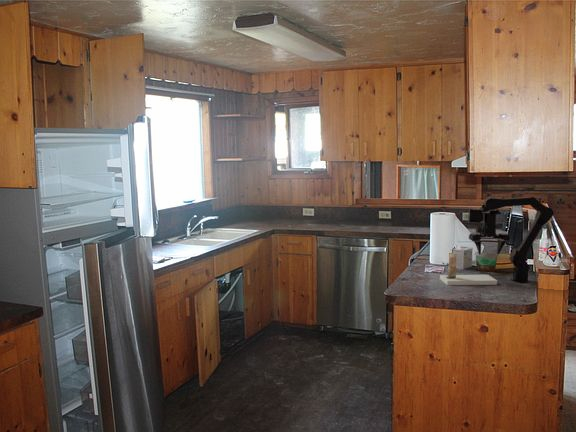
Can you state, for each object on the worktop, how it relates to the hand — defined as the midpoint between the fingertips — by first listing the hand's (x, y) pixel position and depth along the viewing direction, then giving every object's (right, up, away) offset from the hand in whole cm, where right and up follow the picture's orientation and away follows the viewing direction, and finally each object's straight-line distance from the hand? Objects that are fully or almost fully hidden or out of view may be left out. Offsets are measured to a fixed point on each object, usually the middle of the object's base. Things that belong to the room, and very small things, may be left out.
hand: (488, 254), depth 262 cm
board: (-11, -13, -2) cm, 17 cm away
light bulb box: (-3, -10, +30) cm, 32 cm away
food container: (+7, -11, +21) cm, 25 cm away
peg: (-19, -14, -2) cm, 23 cm away
